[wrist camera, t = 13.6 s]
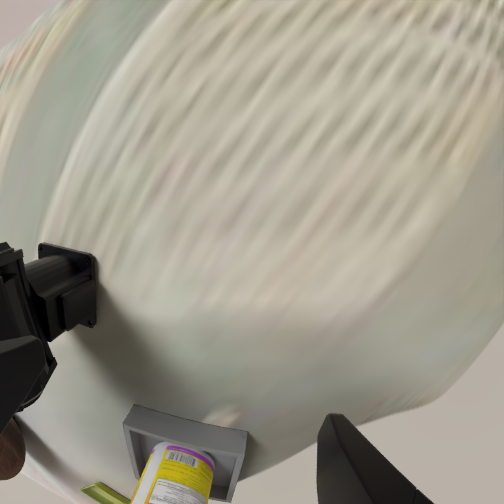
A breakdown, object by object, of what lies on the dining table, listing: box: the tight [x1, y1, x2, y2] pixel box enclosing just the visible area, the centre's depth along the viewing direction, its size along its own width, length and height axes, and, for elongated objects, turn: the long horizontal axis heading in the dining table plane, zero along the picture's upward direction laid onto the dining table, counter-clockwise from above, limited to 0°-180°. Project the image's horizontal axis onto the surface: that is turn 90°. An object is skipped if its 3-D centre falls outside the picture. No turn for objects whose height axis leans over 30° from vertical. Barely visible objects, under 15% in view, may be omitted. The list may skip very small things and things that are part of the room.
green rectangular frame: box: [80, 482, 130, 504], centre depth 29 cm, size 9×9×2 cm
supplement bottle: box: [129, 441, 215, 504], centre depth 17 cm, size 7×7×13 cm
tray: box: [123, 404, 248, 502], centre depth 23 cm, size 11×11×3 cm
